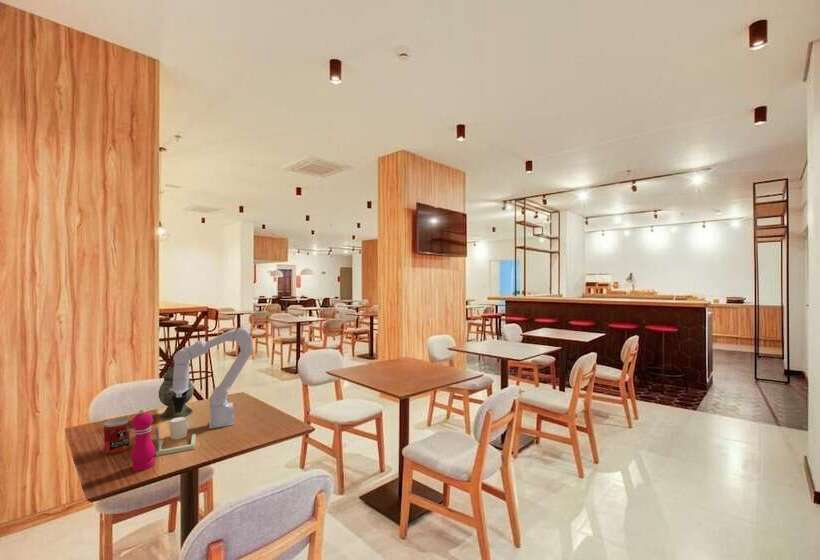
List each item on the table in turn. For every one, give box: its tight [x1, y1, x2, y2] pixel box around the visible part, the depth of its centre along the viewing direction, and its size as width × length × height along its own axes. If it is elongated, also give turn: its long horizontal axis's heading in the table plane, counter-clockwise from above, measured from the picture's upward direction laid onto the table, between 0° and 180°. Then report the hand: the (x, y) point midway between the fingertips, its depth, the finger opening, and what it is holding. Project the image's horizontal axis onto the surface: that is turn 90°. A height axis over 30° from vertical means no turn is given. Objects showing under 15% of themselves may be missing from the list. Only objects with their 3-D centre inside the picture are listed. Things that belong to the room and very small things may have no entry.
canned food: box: [103, 417, 130, 455], centre depth 149 cm, size 8×8×11 cm
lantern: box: [158, 362, 195, 421], centre depth 187 cm, size 14×14×25 cm
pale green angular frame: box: [150, 427, 197, 457], centre depth 151 cm, size 15×12×10 cm
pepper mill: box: [129, 408, 157, 472], centre depth 136 cm, size 7×7×20 cm
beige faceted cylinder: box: [168, 416, 189, 440], centre depth 161 cm, size 7×7×7 cm
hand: (179, 409), depth 168 cm, fingers open, 7 cm apart
